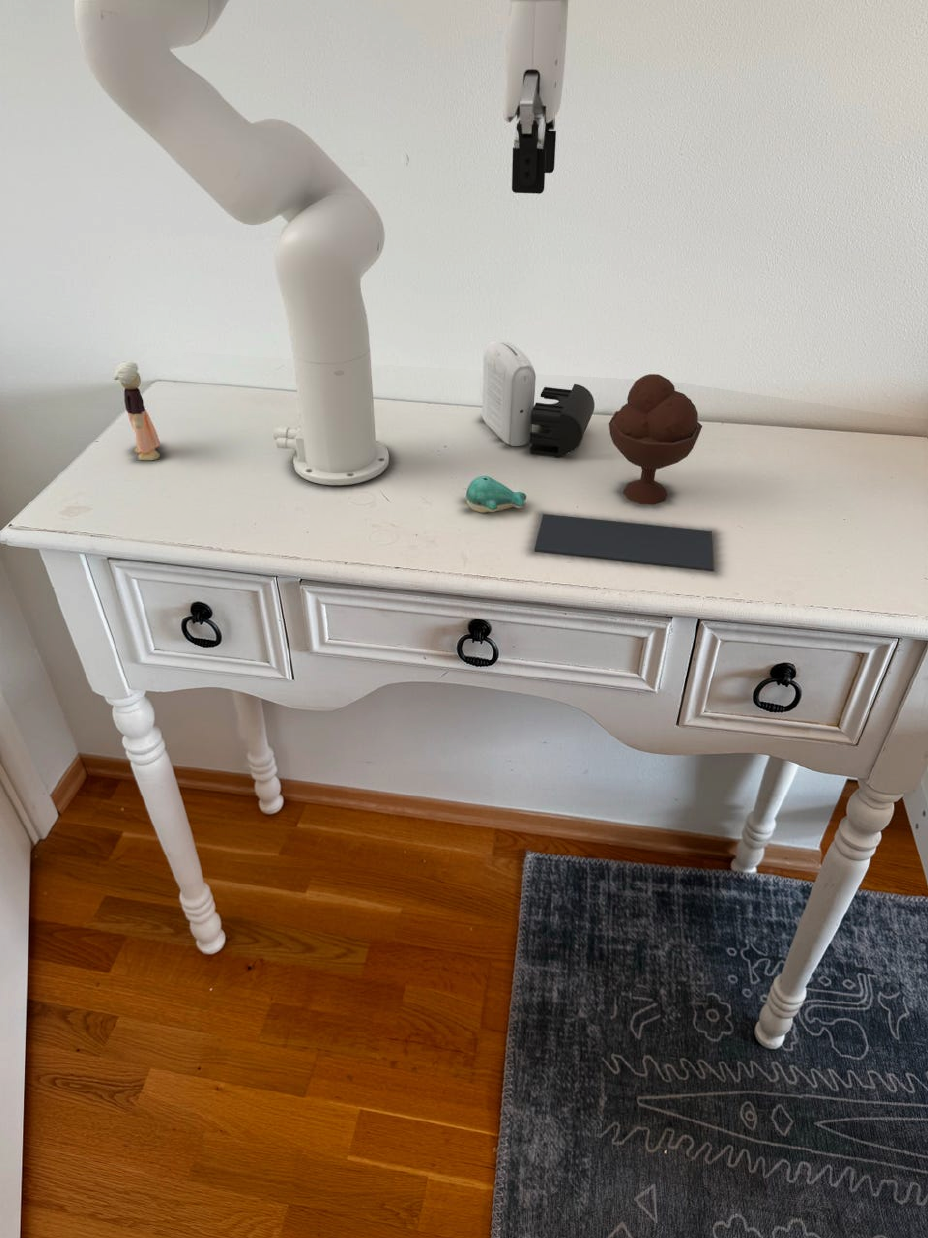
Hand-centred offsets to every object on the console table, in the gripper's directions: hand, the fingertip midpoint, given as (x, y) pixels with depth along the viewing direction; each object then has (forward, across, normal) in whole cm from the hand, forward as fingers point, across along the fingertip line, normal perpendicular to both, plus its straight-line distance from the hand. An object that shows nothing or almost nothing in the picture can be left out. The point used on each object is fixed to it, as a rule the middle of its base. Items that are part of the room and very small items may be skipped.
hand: (533, 181), depth 92 cm
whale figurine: (+36, +6, -2) cm, 36 cm away
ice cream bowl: (+36, 0, +16) cm, 39 cm away
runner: (+36, +12, +14) cm, 40 cm away
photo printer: (+36, -14, -4) cm, 39 cm away
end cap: (+36, -12, +4) cm, 38 cm away
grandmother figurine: (+35, +1, -51) cm, 62 cm away
